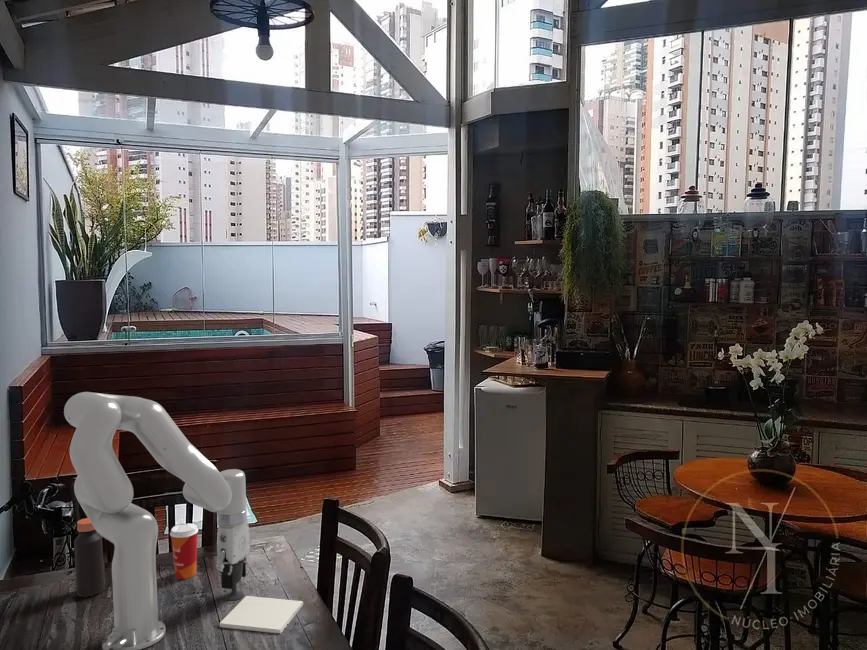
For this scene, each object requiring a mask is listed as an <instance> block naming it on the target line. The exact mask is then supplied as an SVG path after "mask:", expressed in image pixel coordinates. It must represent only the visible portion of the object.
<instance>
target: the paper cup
mask: <svg viewBox="0 0 867 650" xmlns="http://www.w3.org/2000/svg"><path fill="white" fill-rule="evenodd" d="M198 532H199V529H198V526H197V525H196V524H195V523H182V524H178V525H174V526H173V527H172V528H171V530H170V532H169V535H170V538H171V547H172V557H173V565H174V566H173V567H174V568H173V569H174V574H175V578H176V579H177V578H178V580H187V579H190V578H191V579H192V578H194V577H195V576H196V575H197V561H198V560H197V557H198V556H197V555H198Z"/></svg>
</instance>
